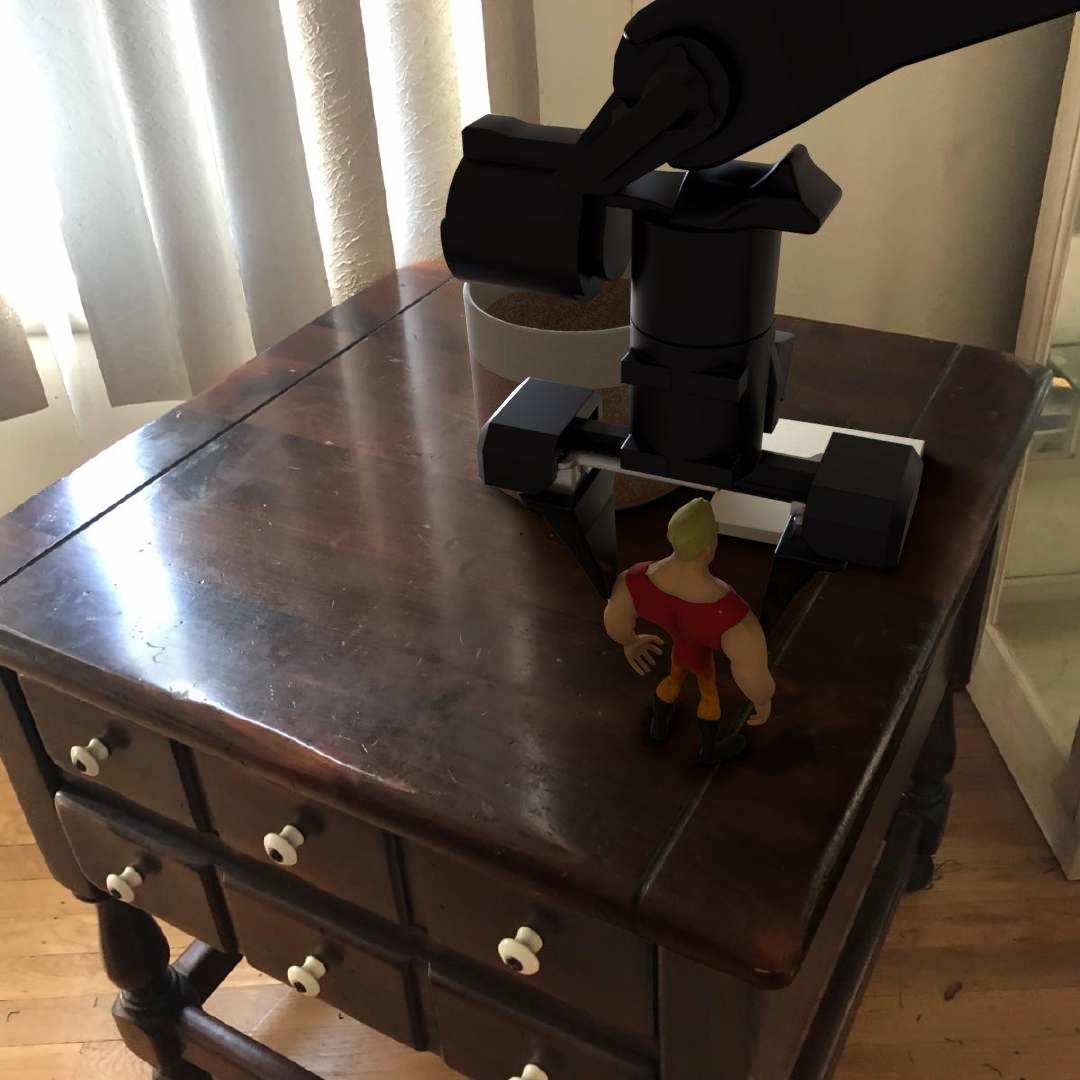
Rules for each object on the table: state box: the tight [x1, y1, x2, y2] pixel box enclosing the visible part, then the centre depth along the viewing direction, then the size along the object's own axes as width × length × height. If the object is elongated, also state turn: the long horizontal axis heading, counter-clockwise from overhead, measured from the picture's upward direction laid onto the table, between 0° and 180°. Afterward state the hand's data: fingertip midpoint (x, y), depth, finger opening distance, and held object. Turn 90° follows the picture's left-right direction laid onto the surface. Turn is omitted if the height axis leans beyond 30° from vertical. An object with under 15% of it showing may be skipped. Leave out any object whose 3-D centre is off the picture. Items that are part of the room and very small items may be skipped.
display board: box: [709, 417, 926, 546], centre depth 78 cm, size 12×14×1 cm
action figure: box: [603, 497, 776, 766], centre depth 56 cm, size 10×4×15 cm, turn 52°
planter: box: [462, 258, 681, 511], centre depth 79 cm, size 16×16×14 cm
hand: (685, 612), depth 56 cm, fingers closed on action figure, 7 cm apart
